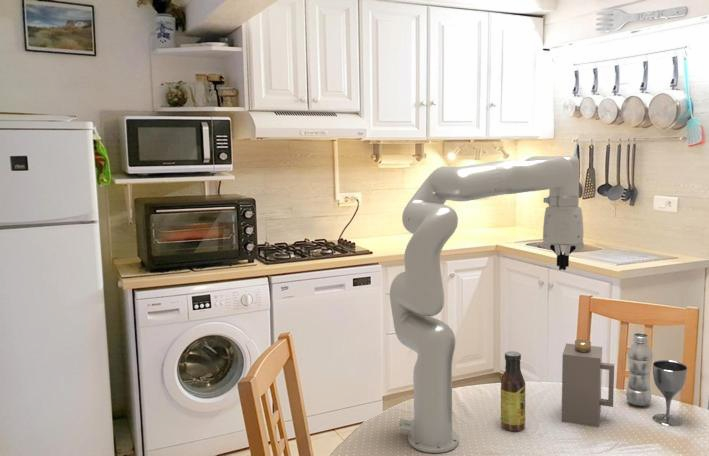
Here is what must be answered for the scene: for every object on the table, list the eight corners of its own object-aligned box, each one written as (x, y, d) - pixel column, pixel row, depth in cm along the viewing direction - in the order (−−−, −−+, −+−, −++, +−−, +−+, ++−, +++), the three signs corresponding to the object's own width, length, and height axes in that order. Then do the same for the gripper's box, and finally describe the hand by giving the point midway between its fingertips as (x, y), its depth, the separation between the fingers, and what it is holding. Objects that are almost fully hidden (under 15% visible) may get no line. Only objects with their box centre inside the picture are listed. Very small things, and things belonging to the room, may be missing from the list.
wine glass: (683, 416, 165) (686, 362, 163) (685, 429, 158) (688, 372, 156) (650, 411, 169) (652, 358, 167) (651, 423, 162) (653, 368, 159)
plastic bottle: (621, 404, 174) (623, 335, 171) (632, 397, 178) (634, 330, 175) (644, 411, 169) (647, 340, 166) (655, 403, 173) (658, 334, 171)
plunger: (565, 414, 165) (567, 344, 162) (568, 404, 171) (569, 336, 168) (594, 419, 162) (596, 347, 159) (596, 408, 168) (598, 339, 166)
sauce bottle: (526, 433, 159) (526, 358, 156) (500, 431, 160) (501, 357, 157) (524, 421, 165) (524, 350, 162) (500, 420, 166) (500, 349, 163)
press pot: (561, 421, 164) (562, 354, 162) (565, 407, 173) (566, 343, 170) (612, 429, 159) (614, 359, 157) (613, 414, 168) (615, 348, 165)
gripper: (533, 203, 166) (532, 270, 169) (592, 204, 160) (590, 273, 163) (537, 200, 173) (536, 264, 176) (594, 201, 167) (592, 267, 169)
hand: (562, 268), depth 169 cm, fingers closed
